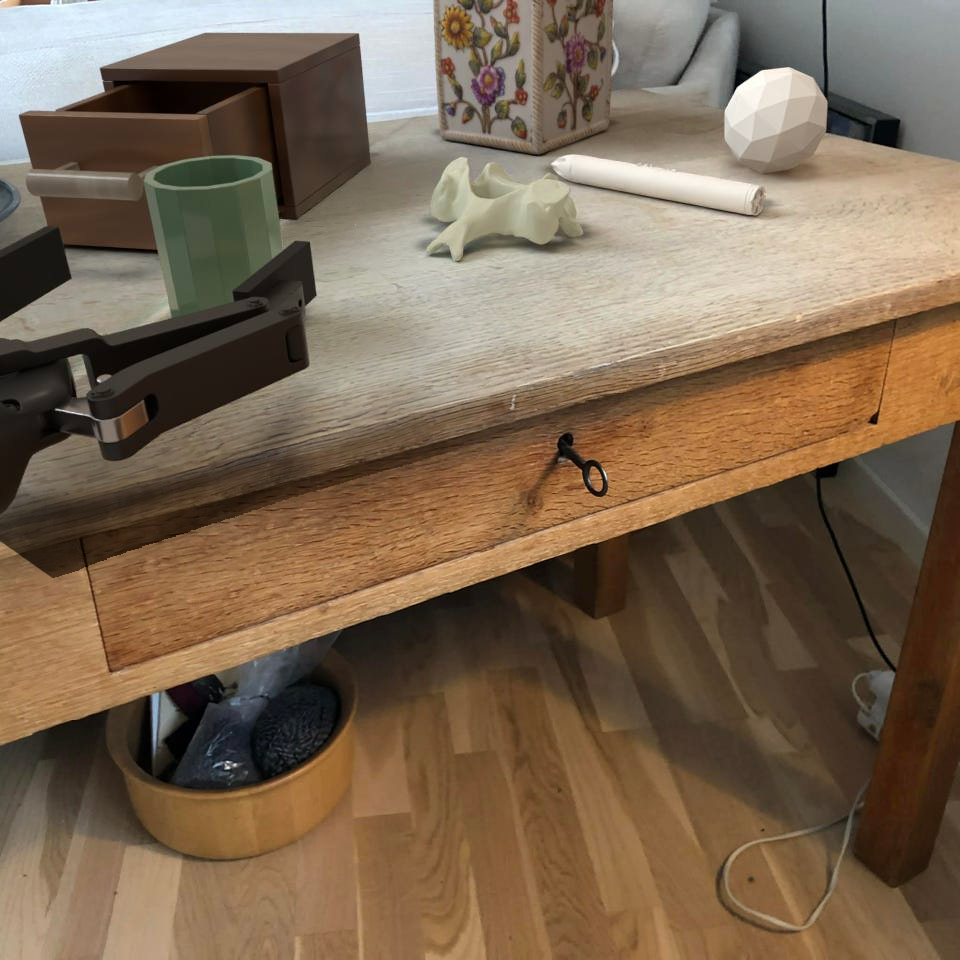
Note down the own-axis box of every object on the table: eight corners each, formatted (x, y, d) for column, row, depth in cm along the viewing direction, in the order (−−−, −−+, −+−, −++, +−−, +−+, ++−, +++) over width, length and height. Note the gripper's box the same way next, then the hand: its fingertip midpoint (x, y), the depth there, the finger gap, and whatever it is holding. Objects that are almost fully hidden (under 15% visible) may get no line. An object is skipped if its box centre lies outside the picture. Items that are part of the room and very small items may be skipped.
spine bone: (381, 264, 71) (366, 200, 67) (471, 199, 76) (462, 137, 72) (517, 309, 64) (508, 241, 61) (606, 235, 69) (602, 168, 66)
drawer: (188, 278, 62) (160, 136, 57) (10, 266, 65) (-29, 130, 60) (310, 189, 77) (295, 72, 73) (162, 183, 80) (140, 70, 76)
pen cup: (155, 353, 55) (118, 186, 50) (212, 307, 60) (184, 153, 55) (264, 363, 53) (236, 192, 49) (312, 315, 59) (292, 156, 54)
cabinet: (297, 219, 74) (277, 69, 69) (130, 210, 78) (98, 67, 72) (371, 162, 87) (359, 32, 82) (225, 157, 91) (204, 32, 85)
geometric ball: (766, 211, 81) (747, 142, 74) (718, 153, 85) (696, 84, 79) (853, 157, 80) (840, 82, 73) (799, 102, 84) (783, 26, 78)
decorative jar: (538, 157, 87) (537, -83, 77) (435, 140, 93) (422, -84, 84) (614, 129, 94) (621, -93, 85) (514, 115, 101) (510, -93, 91)
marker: (543, 180, 81) (543, 150, 80) (559, 174, 82) (559, 144, 81) (749, 219, 71) (753, 185, 69) (763, 212, 72) (767, 178, 71)
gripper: (172, 418, 28) (413, 195, 45) (-498, 347, 34) (-58, 174, 51) (219, 629, 32) (424, 349, 49) (-389, 533, 38) (-15, 313, 55)
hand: (179, 260), depth 50 cm, fingers open, 13 cm apart
